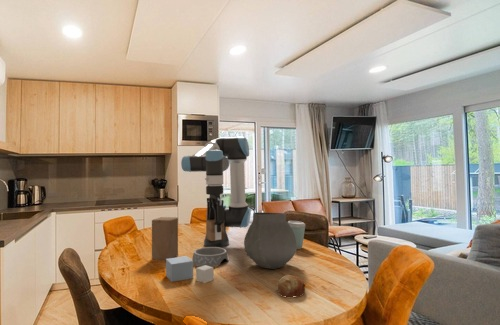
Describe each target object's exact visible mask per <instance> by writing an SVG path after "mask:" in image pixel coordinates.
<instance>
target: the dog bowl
mask: <svg viewBox="0 0 500 325" xmlns="http://www.w3.org/2000/svg"><path fill="white" fill-rule="evenodd" d="M191 260H192V261H193V266H196V267H201V266H204V265H207V266H210V267H219V266H221V263H222V262H223V261H224V260H226V261H227V262H229V255H228V252H227V249H225V248H222V247H208V246H205V247H201V248H196V249H195V250H194V251H193V254H192V258H191Z"/></svg>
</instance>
